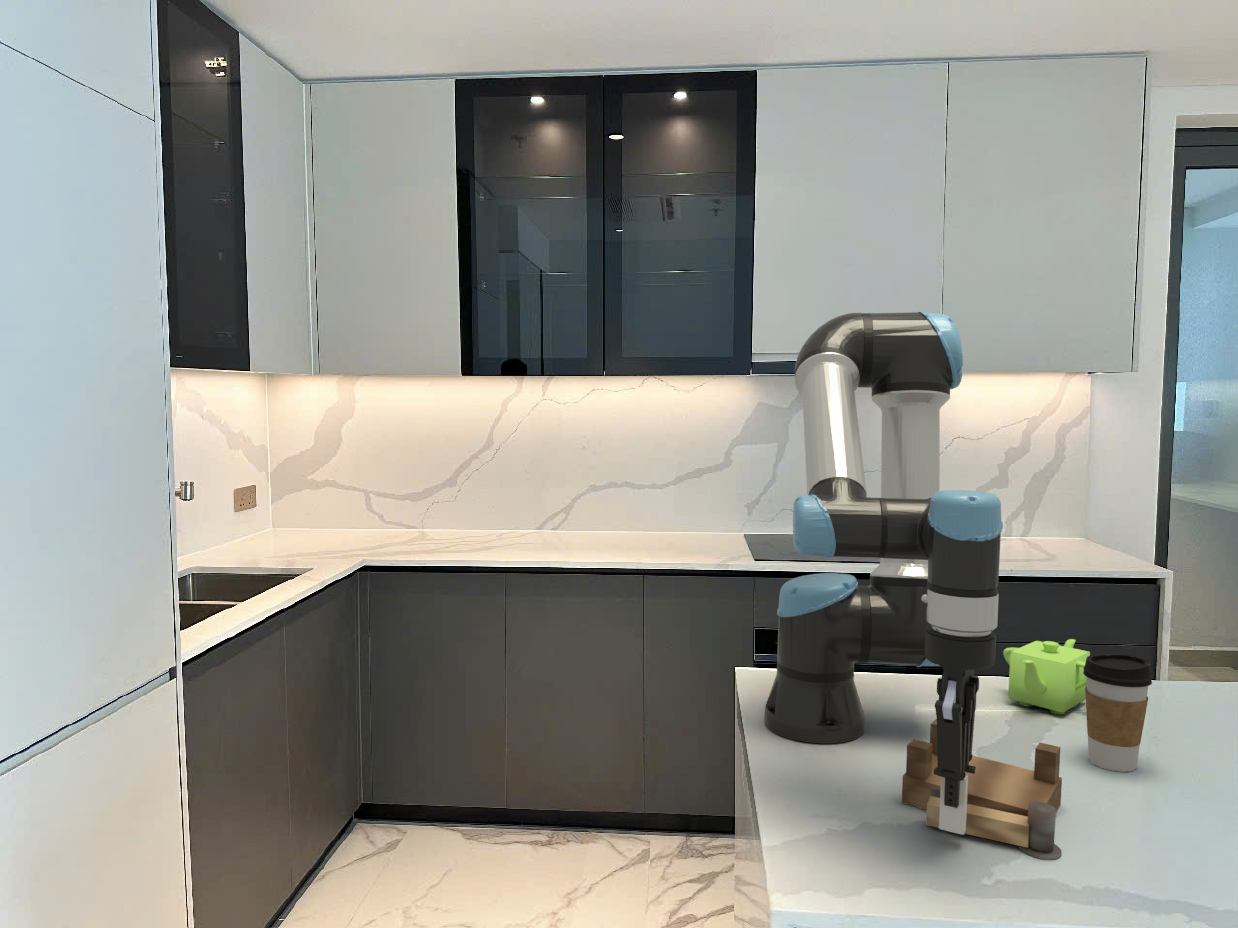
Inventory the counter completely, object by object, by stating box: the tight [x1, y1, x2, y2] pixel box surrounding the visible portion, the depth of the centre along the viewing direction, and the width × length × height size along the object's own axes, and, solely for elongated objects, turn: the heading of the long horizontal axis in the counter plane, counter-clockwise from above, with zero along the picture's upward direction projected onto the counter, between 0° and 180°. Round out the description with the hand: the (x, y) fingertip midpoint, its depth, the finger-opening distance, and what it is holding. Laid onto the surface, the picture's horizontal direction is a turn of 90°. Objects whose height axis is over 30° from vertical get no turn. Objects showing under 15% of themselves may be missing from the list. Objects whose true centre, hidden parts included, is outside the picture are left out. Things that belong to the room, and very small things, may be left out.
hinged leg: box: [925, 796, 1057, 852], centre depth 103 cm, size 14×3×4 cm, turn 62°
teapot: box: [1002, 638, 1091, 715], centre depth 147 cm, size 15×13×11 cm
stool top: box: [901, 718, 1063, 861], centre depth 109 cm, size 19×16×8 cm
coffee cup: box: [1083, 653, 1153, 773], centre depth 124 cm, size 8×8×15 cm
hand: (952, 828), depth 102 cm, fingers closed
